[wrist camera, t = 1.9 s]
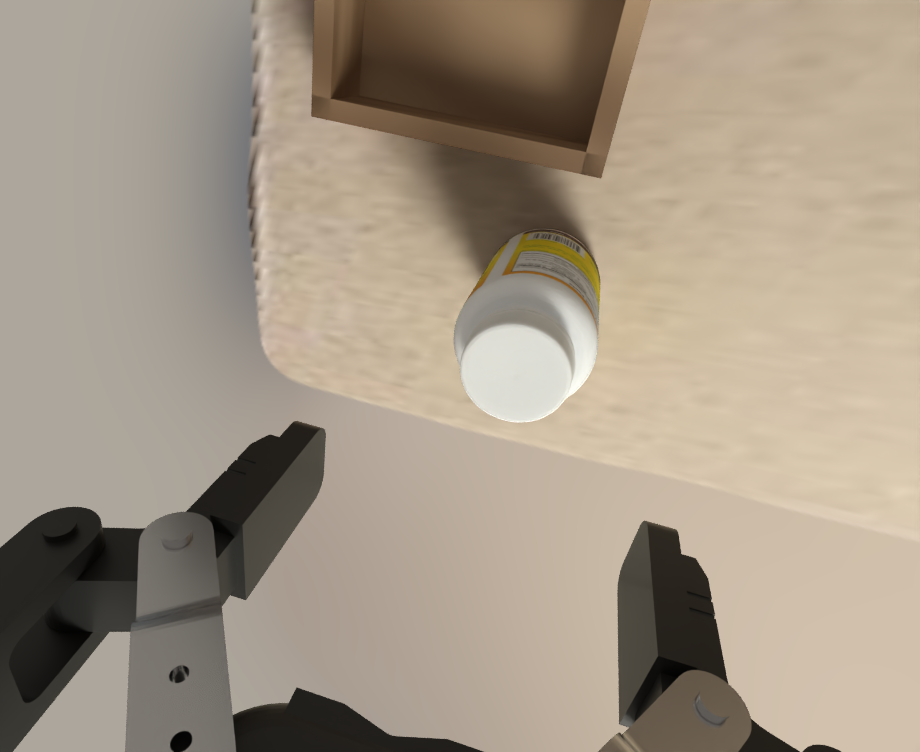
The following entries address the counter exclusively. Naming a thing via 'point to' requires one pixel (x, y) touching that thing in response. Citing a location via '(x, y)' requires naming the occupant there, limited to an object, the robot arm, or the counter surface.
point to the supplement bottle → (530, 326)
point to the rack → (481, 73)
